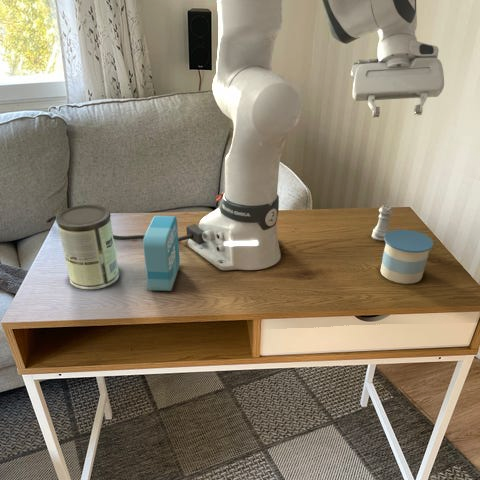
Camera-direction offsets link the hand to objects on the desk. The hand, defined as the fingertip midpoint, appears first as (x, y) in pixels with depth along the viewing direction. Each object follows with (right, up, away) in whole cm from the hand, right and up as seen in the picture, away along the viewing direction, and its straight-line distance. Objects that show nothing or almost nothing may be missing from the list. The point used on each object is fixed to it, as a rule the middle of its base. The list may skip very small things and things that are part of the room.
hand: (397, 115), depth 115 cm
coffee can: (-67, -38, -10) cm, 78 cm away
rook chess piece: (-2, -27, +7) cm, 28 cm away
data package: (-52, -39, -10) cm, 66 cm away
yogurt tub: (-1, -37, -7) cm, 38 cm away
